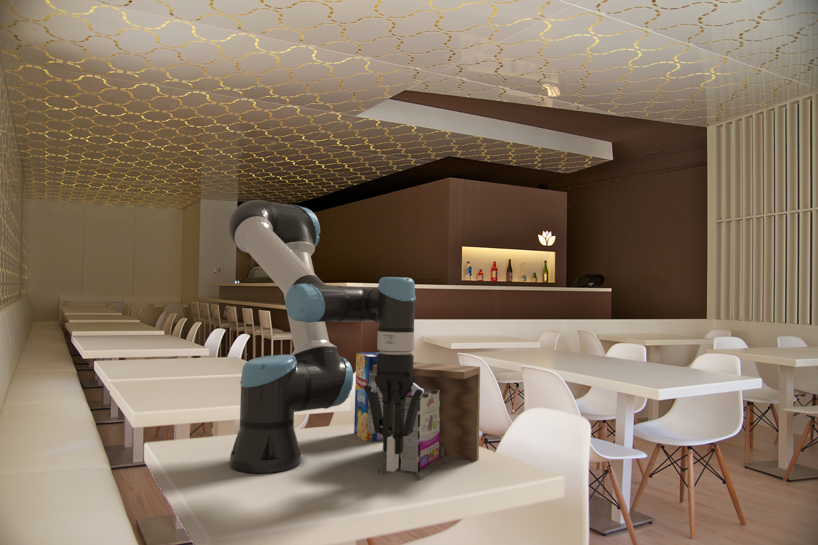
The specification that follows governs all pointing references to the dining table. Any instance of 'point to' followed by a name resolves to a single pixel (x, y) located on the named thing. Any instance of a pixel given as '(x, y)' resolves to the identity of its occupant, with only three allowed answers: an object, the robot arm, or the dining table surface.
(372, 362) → the blue cardboard box
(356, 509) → the dining table surface
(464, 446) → the overhang shelf
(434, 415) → the candy bar box
